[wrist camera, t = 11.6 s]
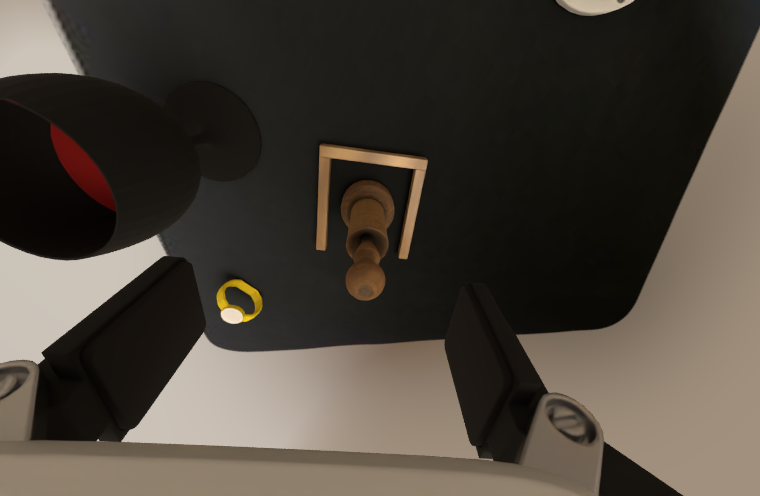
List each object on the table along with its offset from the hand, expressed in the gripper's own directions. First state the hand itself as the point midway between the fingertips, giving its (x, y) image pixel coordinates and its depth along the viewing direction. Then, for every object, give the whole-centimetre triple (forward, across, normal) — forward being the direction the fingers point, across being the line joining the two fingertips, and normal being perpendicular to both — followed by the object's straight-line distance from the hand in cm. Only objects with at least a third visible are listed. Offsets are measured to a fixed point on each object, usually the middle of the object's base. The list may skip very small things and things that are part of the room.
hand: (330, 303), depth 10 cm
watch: (+26, +15, +21) cm, 37 cm away
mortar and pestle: (+27, -1, +6) cm, 28 cm away
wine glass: (+27, +17, 0) cm, 31 cm away
